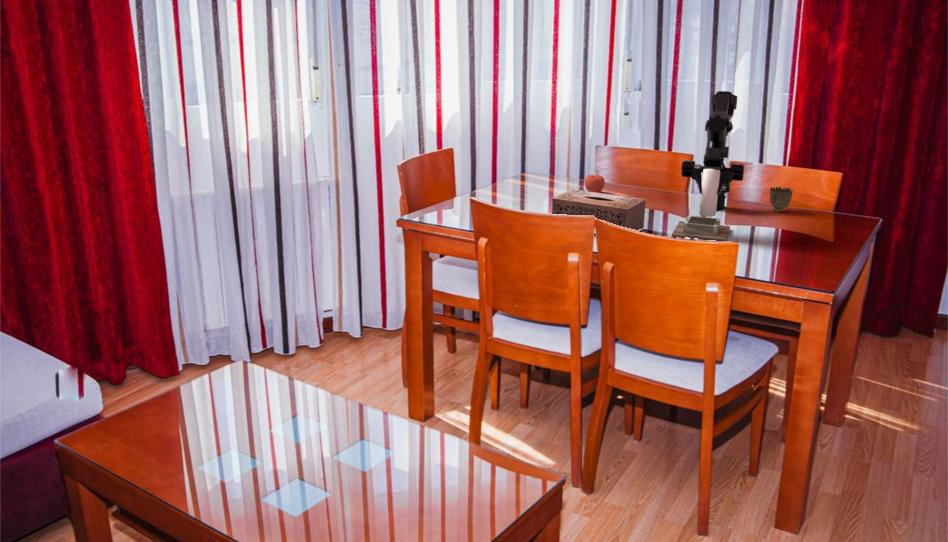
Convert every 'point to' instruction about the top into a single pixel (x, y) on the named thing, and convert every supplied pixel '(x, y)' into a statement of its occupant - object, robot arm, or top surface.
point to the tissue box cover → (602, 207)
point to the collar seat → (701, 229)
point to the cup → (780, 198)
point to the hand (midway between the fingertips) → (709, 193)
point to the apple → (594, 183)
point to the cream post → (709, 192)
